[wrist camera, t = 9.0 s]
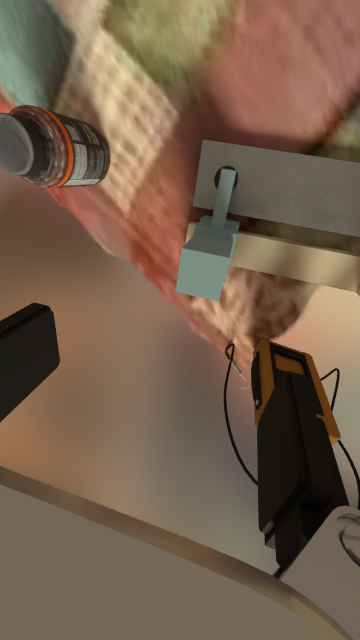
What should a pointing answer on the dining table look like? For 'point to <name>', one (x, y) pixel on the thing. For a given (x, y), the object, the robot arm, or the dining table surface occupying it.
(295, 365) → the multimeter
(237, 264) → the trammel rail
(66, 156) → the supplement bottle
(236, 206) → the flange plate
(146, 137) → the dining table surface
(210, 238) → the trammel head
